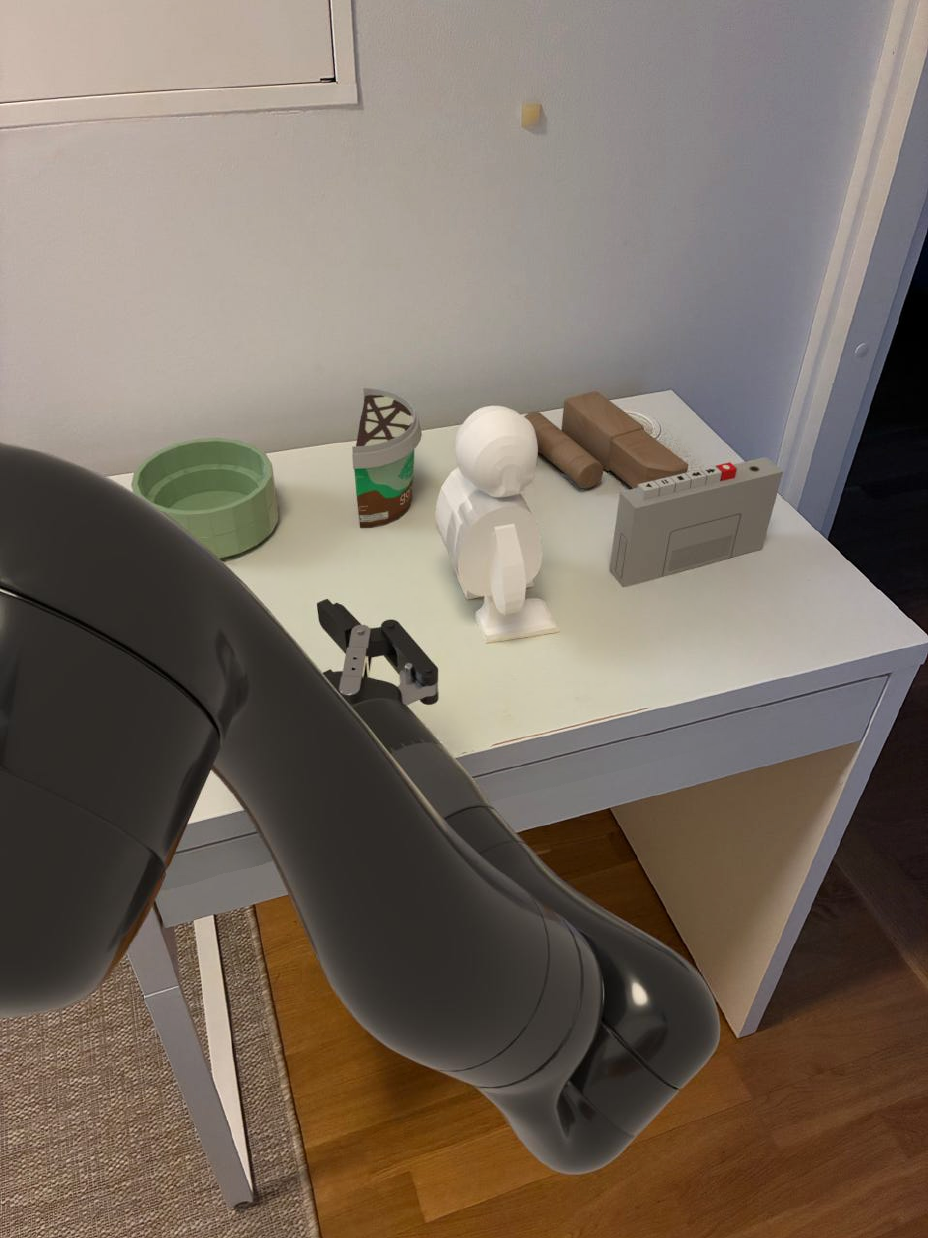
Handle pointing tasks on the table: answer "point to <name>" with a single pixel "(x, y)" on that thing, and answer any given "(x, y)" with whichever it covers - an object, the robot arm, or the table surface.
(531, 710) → the table surface
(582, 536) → the table surface
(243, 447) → the bowl
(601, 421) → the wooden block set
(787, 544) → the table surface
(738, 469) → the cassette player
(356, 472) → the food container
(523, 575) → the toy robot
